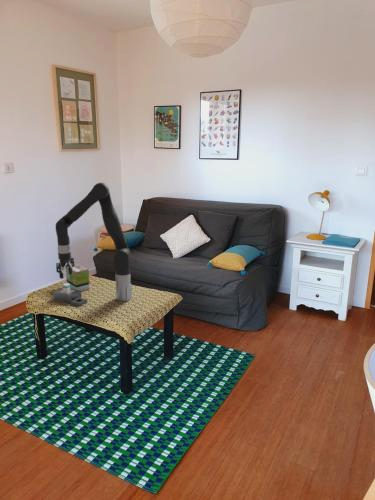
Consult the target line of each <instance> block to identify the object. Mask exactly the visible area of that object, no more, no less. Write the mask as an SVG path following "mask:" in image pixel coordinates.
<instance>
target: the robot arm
mask: <svg viewBox="0 0 375 500" xmlns="http://www.w3.org/2000/svg"><path fill="white" fill-rule="evenodd" d="M98 202H99V206H100V209H101V217H102V221H103V224H104V227H105V231H106V232H107V234H108V236H109V237H110V238H111V240H112V241H113V244H114V246H115V251H116V252H115V253H114V255H113V266H114V267H113V268H114V272H115V296H116V297H115V299H116V300H117V301H119V302H128V301H130V300H131V299H132V298H133V289H132V288H133V285H132V283H131V269H130V259H131V257H132V254H131V250H130V248H129V246H128V243H127V241H126V239H125V236H124V232H123V228H122V225H121V222H120V218H119V216H118V214H117V211H116V209H115V207H114V204H113V202H112V198H111V193H110V188H109V186H108V185H107V184H106V183H105V182H98V183H96V184H95V185H93V187H92V189H90V191H89V192H88V194H87V195H86V196H85V197H84V198H83V199H82V200H80V201H79V202H78V203H76V204H75V205H74V206H73V207H72V208H71V209H70V210H69V211H68V212H67V213H66V214H65V215H63V216H62V217H61V218H60V219H59V220H58V221H57V222H56V223H55V232H56V238H57V239H56V240H57V254H58V255H57V256H58V258H57V259H58V260H59V262H56V265H55V267H56V268H55V269H56V273H58V274H59V278H60V279H62V280H63V279H64V271H66V267H68V268H69V269H68V271H69V274H72V268H73V267H74V265H75V261H74V259H75V258H74V257H72V252H71V251H72V248H71V244H70V242H71V241H70V240H71V239H70V236H69V232H68V229H69V228H70V227H71V225H73V224H74V222H77V221H78V220H79V219H80V218H81V217H82V216H83V215H84V214H85V213H86V212H88V210H89V209H90V208H91V207H92V206H94V204H96V203H98Z"/></svg>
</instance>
